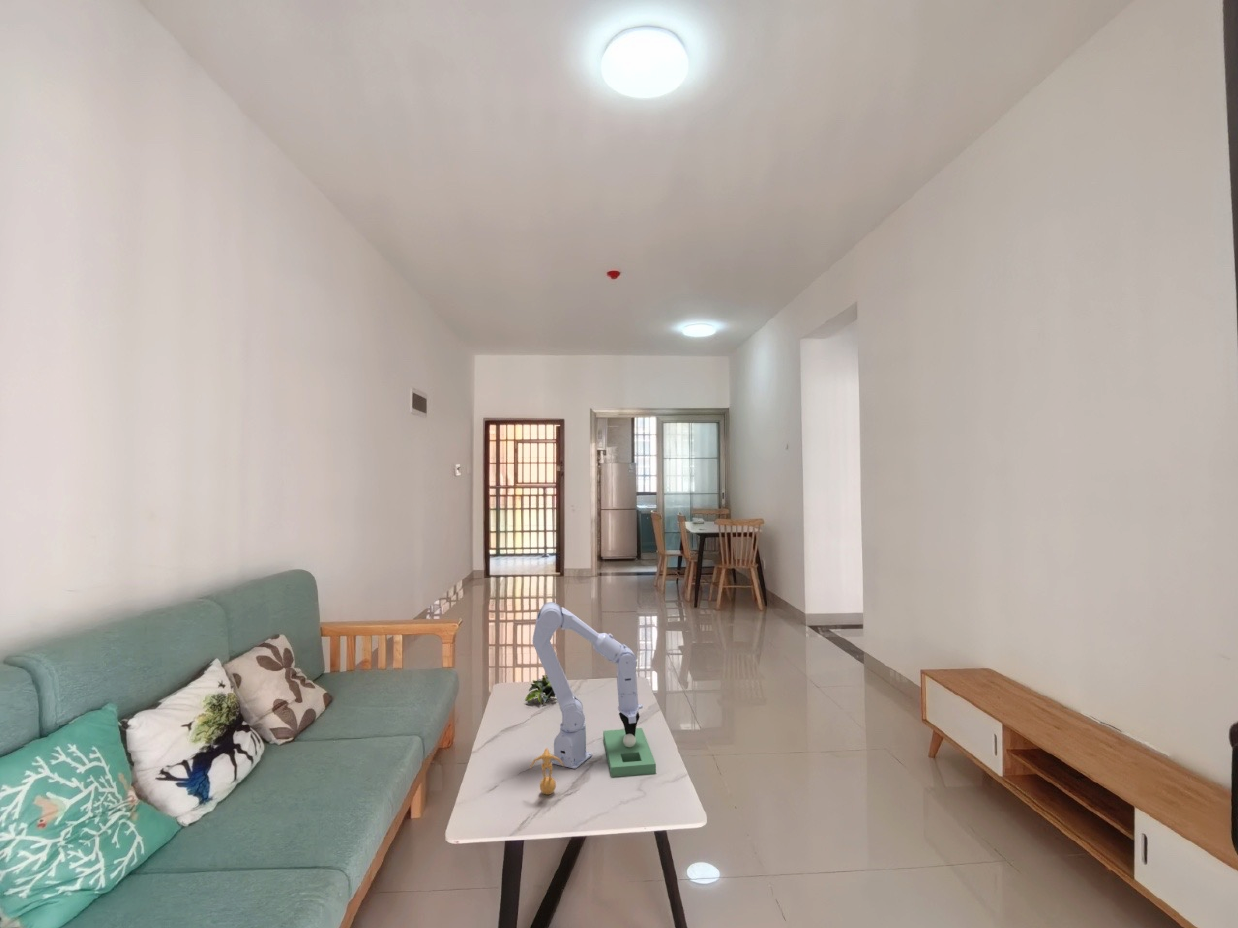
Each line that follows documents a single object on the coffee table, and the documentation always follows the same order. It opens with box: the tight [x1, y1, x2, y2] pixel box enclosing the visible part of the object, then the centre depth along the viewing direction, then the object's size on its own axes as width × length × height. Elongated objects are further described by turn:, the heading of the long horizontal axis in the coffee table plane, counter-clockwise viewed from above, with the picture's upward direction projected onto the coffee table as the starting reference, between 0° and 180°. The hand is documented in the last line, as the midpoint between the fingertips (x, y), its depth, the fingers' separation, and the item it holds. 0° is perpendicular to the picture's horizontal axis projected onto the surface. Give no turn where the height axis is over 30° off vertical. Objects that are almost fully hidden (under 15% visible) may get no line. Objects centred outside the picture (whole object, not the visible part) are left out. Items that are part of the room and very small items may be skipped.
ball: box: [623, 734, 636, 748], centre depth 170 cm, size 4×4×4 cm
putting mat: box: [602, 727, 657, 778], centre depth 170 cm, size 24×12×2 cm, turn 7°
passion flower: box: [524, 674, 556, 707], centre depth 213 cm, size 11×11×12 cm
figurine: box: [529, 747, 565, 796], centre depth 149 cm, size 8×6×12 cm
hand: (630, 738), depth 171 cm, fingers closed, pressing on ball
